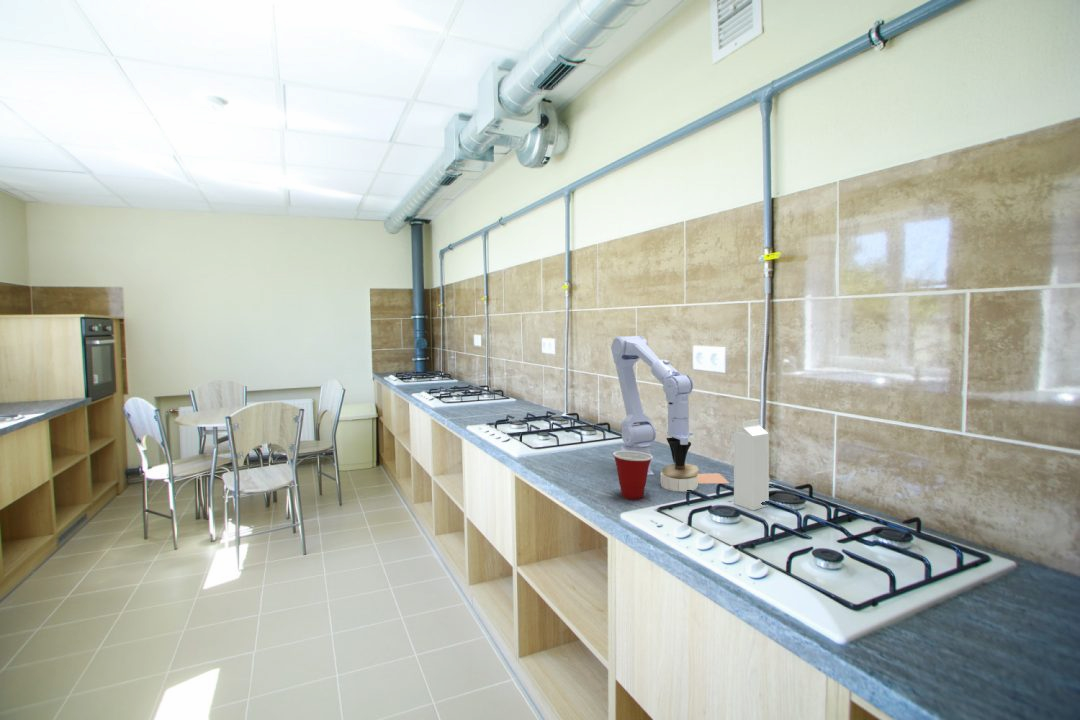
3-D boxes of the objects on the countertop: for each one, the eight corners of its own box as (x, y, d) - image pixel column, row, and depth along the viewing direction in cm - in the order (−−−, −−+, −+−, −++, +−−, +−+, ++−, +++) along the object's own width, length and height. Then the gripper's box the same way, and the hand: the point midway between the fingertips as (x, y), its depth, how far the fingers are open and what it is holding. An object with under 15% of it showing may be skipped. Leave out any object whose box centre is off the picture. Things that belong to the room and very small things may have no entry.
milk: (733, 504, 132) (732, 420, 131) (749, 499, 135) (748, 417, 134) (753, 511, 127) (752, 423, 126) (769, 506, 130) (768, 420, 129)
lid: (667, 479, 142) (666, 460, 141) (658, 469, 151) (657, 452, 151) (703, 475, 142) (702, 457, 141) (692, 466, 152) (690, 449, 151)
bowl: (665, 493, 142) (664, 479, 142) (658, 482, 152) (658, 469, 152) (701, 493, 142) (701, 478, 141) (692, 482, 152) (692, 469, 151)
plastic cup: (660, 500, 137) (660, 456, 136) (623, 504, 134) (623, 459, 133) (642, 488, 147) (641, 447, 146) (607, 492, 144) (606, 450, 144)
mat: (694, 485, 149) (694, 483, 149) (686, 475, 159) (686, 473, 158) (729, 485, 148) (729, 483, 148) (719, 475, 158) (719, 473, 158)
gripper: (699, 421, 138) (699, 470, 139) (686, 412, 153) (686, 457, 153) (672, 422, 139) (673, 471, 139) (662, 413, 153) (663, 458, 154)
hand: (678, 464), depth 146 cm, fingers closed on lid, 3 cm apart
